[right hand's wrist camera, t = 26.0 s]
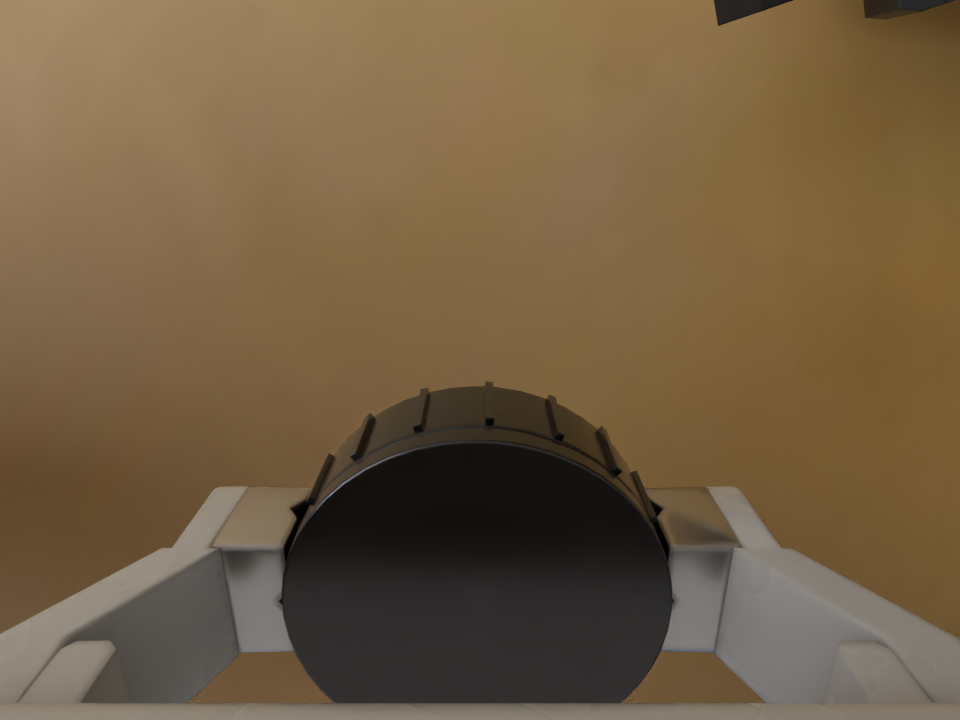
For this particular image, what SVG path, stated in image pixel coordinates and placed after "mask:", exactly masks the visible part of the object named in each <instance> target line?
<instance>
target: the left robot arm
mask: <svg viewBox="0 0 960 720" xmlns="http://www.w3.org/2000/svg"><path fill="white" fill-rule="evenodd" d="M790 1H792V0H714V3H715V9H716V15H717V21H718V26H720V25H723V24H725V23H728V22H731V21H734V20H737V19H740V18H743V17H746V16H749V15H752V14H755V13H758V12H761V11H764V10H766V9H769V8H772V7H775V6H778V5H781V4H784V3H787V2H790ZM951 1H954V0H864V10H865V18H876V19H889V18H894V17H899V16H903V15H908V14H912V13H917V12H921V11H925V10H928V9H931V8H933V7H936V6H939V5H942V4H945V3H948V2H951Z"/></svg>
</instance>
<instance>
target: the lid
mask: <svg viewBox="0 0 960 720" xmlns="http://www.w3.org/2000/svg"><path fill="white" fill-rule="evenodd" d="M306 503H308V504H310V505H309V507H308V510H307V512H306V514H305V515H303V516H302V517H301V519H300V522H299V524H298V532H297V534H296V537H295V539H294V541H293V544H292V546H291V548H290V551H289V553H288V556H287V560H286V565H285V569H284V573H283V581H282V594H281V596H282V608H283V617H284V621H285V625H286V629H287V633H288V637H289V639H290V642H291V644H292V647H293V649H294V651H295V654H296V656H297V658H298V659H299V661H300V662H301V664H302V666H303V667H304V669H305V671H306V672H307V674H308V675H309V676H310V678H311V679H312V680H313V681H314V682H315V684H316V685H317V686H318V687H319V689H320V690H321V691H322V692H323V693H324V694H325V695H327V696H328V697H329V698H330V699H331V700H332V701H333V702H334V703H621V702H622V701H624V700H625V699H626V698H627V697H628V696H629V695H630V694H631V693H632V692H633V691H634V689H635V688H636V687H637V686H638V685H639V684H640V683H641V682H642V680H643V679H644V677H645V676H646V675H647V673H648V672H649V671H650V669H651V668H652V666H653V664H654V662H655V660H656V659H657V657H658V655H659V653H660V651H661V649H662V646H663V643H664V640H665V638H666V635H667V632H668V628H669V623H670V617H671V612H672V581H671V574H670V568H669V564H668V561H667V558H666V555H665V552H664V549H663V546H662V543H661V541H660V539H659V536H658V534H657V532H656V530H655V527H654V524H653V523H656V522H658V518H657V516H656V514H655V511H654V509H653V507H652V505H651V502H650V500H649V498H648V495H647V493H646V491H645V489H644V486H643V484H642V482H641V479H640V477H639V475H638V473H637V471H634V472H630V470H629V468H628V466H627V464H626V462H625V461H624V459H623V458H622V457H621V455H620V454H619V452H618V451H617V450H616V448H615V447H614V446H613V445H612V443H611V441H610V438H609V436H608V433H607V431H606V430H605V429H604V428H603V427H602V426H601V427H600V428H599V429H598V430H597V429H596V428H595V427H594V426H592V425H591V424H590V423H589V422H587V421H586V420H585V419H583V418H582V417H580V416H579V415H577V414H575V413H573V412H572V411H570V410H568V409H567V408H565V407H563V406H561V405H559V404H557V401H556V398H555V397H553V396H551V395H549V396H548V398H547V399H545V398H542V397H539V396H535V395H532V394H528V393H525V392H521V391H516V390H510V389H504V388H498V387H493V382H485V387H484V386H483V387H475V386H472V387H460V388H449V389H444V390H439V391H434V392H429V390H428V388H425V389H421V391H420V395H419V396H416V397H413V398H410V399H408V400H405V401H402V402H400V403H398V404H396V405H394V406H392V407H390V408H388V409H386V410H384V411H382V412H381V413H379V414H378V415H376V416H375V417H373V415H372V414H371V413H370V414H368V415H367V416H365V418H364V420H363V423H362V426H361V427H360V428H359V429H358V430H357V431H355V432H354V433H353V434H352V435H351V436H350V437H349V438H348V439H347V440H346V441H345V443H344V444H343V445H342V446H341V447H340V448H339V450H338V451H337V452H336V453H335V455H334V456H333V455H331V454H328V455H327V457H326V459H325V461H324V463H323V465H322V467H321V469H320V472H319V474H318V476H317V478H316V480H315V483H314V485H313V487H312V489H311V491H310V493H309V496H308V498H307V500H306Z"/></svg>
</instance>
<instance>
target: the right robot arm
mask: <svg viewBox="0 0 960 720" xmlns="http://www.w3.org/2000/svg"><path fill="white" fill-rule="evenodd" d="M311 489H312V488H306V487H256V486H252V487H249V486H221V487H218V488H215V489H214V490H213V491H212V492H211V494H210V495H209V497H208V498H207V499H206V501H205V502H204V504H203V505H202V506H201V508H200V509H199V511H198V512H197V513H196V515H195V516H194V518H193V519H192V520H191V522H190V523H189V525H188V526H187V527H186V529H185V530H184V532H183V533H182V534H181V536H180V537H179V539H178V540H177V541H176V543H175V544H174V546H173V547H172V548H161V549H159V550H157V551H155V552H153V553H151V554H150V555H148V556H146V557H144V558H142V559H140V560H138V561H136V562H134V563H133V564H131V565H129V566H127V567H125V568H123V569H121V570H119V571H117V572H116V573H114V574H112V575H110V576H108V577H106V578H104V579H102V580H101V581H99V582H97V583H95V584H93V585H91V586H89V587H87V588H85V589H84V590H82V591H80V592H78V593H76V594H74V595H72V596H70V597H69V598H67V599H65V600H63V601H61V602H59V603H57V604H55V605H53V606H52V607H50V608H48V609H46V610H44V611H42V612H40V613H38V614H36V615H35V616H33V617H31V618H29V619H27V620H25V621H23V622H21V623H20V624H18V625H16V626H14V627H12V628H10V629H8V630H6V631H4V632H3V633H1V634H0V720H960V638H958V637H956V636H954V635H952V634H950V633H948V632H947V631H945V630H943V629H941V628H939V627H937V626H935V625H934V624H932V623H930V622H928V621H926V620H924V619H922V618H921V617H919V616H917V615H915V614H913V613H911V612H909V611H908V610H906V609H904V608H902V607H900V606H898V605H896V604H895V603H893V602H891V601H889V600H887V599H885V598H883V597H882V596H880V595H878V594H876V593H874V592H872V591H870V590H868V589H867V588H865V587H863V586H861V585H859V584H857V583H855V582H854V581H852V580H850V579H848V578H846V577H844V576H842V575H841V574H839V573H837V572H835V571H833V570H831V569H829V568H828V567H826V566H824V565H822V564H820V563H818V562H816V561H815V560H813V559H811V558H809V557H807V556H805V555H803V554H802V553H800V552H798V551H796V550H794V549H792V548H781V547H780V545H779V544H778V543H777V541H776V540H775V538H774V537H773V535H772V534H771V533H770V531H769V530H768V528H767V527H766V526H765V524H764V523H763V521H762V520H761V519H760V517H759V516H758V514H757V513H756V511H755V510H754V509H753V507H752V506H751V504H750V503H749V502H748V500H747V499H746V497H745V496H744V494H743V493H742V492H741V490H740V489H739V488H737V487H735V486H714V487H685V488H646V489H645V491H646V493H647V495H648V498H649V500H650V502H651V505H652V507H653V509H654V511H655V514H656V516H657V518H658V522H656V523H653V524H654V527H655V530H656V532H657V534H658V536H659V539H660V541H661V543H662V546H663V549H664V552H665V555H666V558H667V561H668V564H669V568H670V574H671V581H672V612H671V617H670V623H669V628H668V632H667V635H666V638H665V640H664V643H663V646H662V649H661V651H674V652H710V653H715V656H716V657H717V658H719V659H720V660H721V661H722V662H723V663H724V664H725V665H726V666H727V667H728V668H729V669H730V670H731V671H732V672H733V673H735V674H736V675H737V676H738V677H739V678H740V679H741V680H742V681H743V682H744V683H745V684H746V685H747V686H748V687H749V688H751V689H752V690H753V691H754V692H755V693H756V694H757V695H758V696H759V697H760V698H761V699H762V700H763V701H764V702H765V703H188V702H189V701H190V700H191V699H192V698H193V697H194V696H195V695H197V694H198V693H199V692H200V691H201V690H202V689H203V688H204V687H205V686H206V685H207V684H208V683H209V682H211V681H212V680H213V679H214V678H215V677H216V676H217V675H218V674H219V673H220V672H221V671H222V670H223V669H225V668H226V667H227V666H228V665H229V664H230V663H231V662H232V661H233V660H234V659H235V658H236V657H238V653H243V652H278V651H294V649H293V647H292V644H291V642H290V639H289V637H288V633H287V629H286V625H285V621H284V617H283V608H282V596H281V594H282V581H283V573H284V569H285V565H286V560H287V556H288V553H289V551H290V548H291V546H292V544H293V541H294V539H295V537H296V534H297V532H298V524H299V522H300V519H301V517H302V516H303V515H305V514H306V512H307V510H308V507H309V505H310V504H308V503H306V500H307V498H308V496H309V493H310V491H311Z"/></svg>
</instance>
